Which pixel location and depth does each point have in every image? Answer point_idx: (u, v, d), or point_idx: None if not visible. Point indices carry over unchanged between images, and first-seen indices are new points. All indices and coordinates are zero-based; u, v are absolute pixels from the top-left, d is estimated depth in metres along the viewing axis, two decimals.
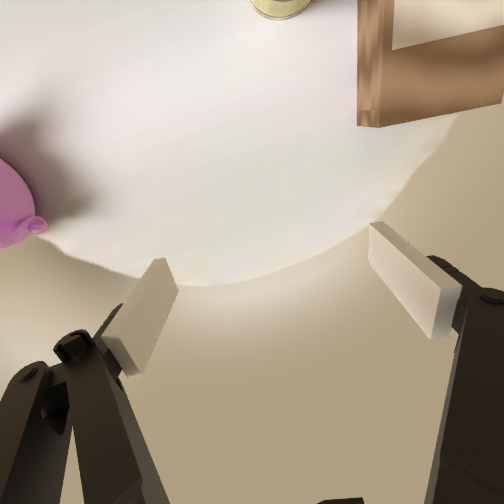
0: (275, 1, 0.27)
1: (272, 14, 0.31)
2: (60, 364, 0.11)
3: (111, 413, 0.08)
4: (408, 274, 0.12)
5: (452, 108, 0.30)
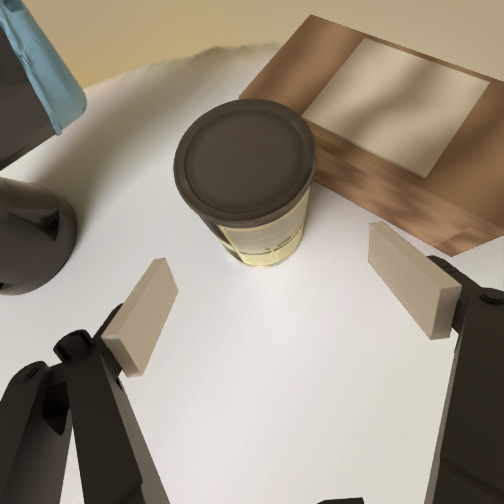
0: (284, 246, 0.24)
1: (284, 257, 0.28)
2: (60, 364, 0.11)
3: (111, 413, 0.08)
4: (408, 274, 0.12)
5: None
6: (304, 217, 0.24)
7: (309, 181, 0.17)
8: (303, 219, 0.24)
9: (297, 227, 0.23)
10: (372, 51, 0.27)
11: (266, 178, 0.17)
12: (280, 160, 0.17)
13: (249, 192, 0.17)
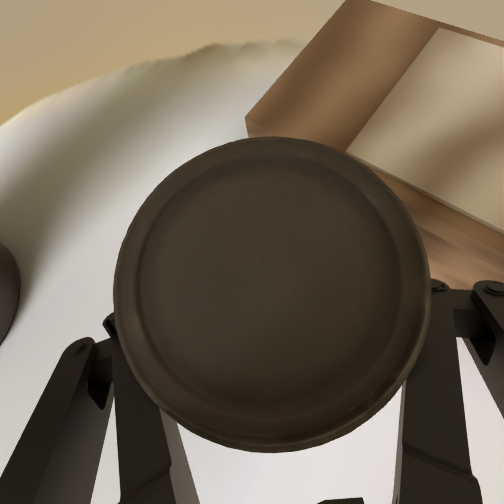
0: None
1: None
2: (104, 341, 0.11)
3: None
4: None
5: None
6: None
7: (419, 346, 0.07)
8: None
9: None
10: (454, 47, 0.17)
11: (313, 328, 0.08)
12: (343, 282, 0.08)
13: (276, 362, 0.07)
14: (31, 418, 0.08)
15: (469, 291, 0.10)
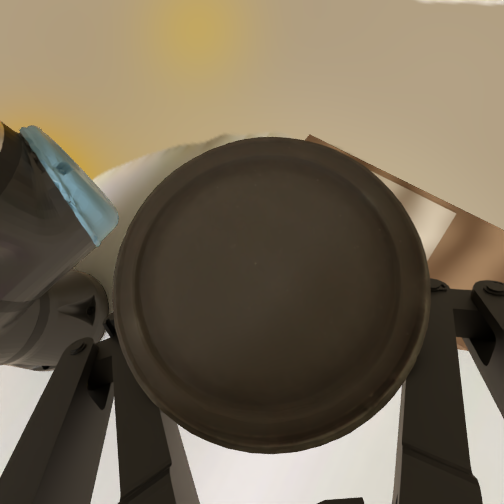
0: None
1: None
2: (104, 341, 0.11)
3: None
4: None
5: (501, 280, 0.27)
6: None
7: (419, 347, 0.07)
8: None
9: None
10: None
11: (312, 328, 0.08)
12: (342, 282, 0.08)
13: (275, 363, 0.07)
14: (31, 418, 0.08)
15: (469, 291, 0.10)
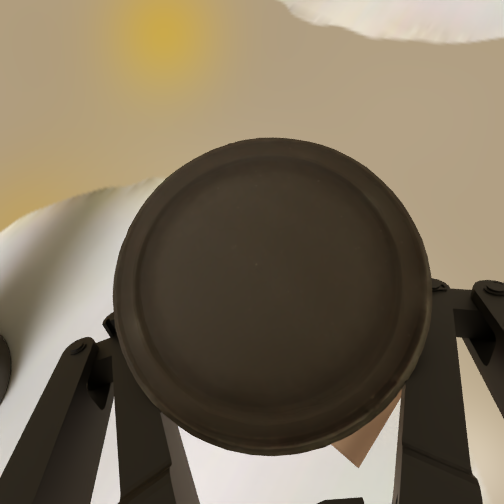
0: None
1: None
2: (104, 341, 0.11)
3: None
4: None
5: None
6: None
7: (420, 349, 0.07)
8: None
9: None
10: None
11: (313, 330, 0.08)
12: (343, 283, 0.08)
13: (277, 364, 0.07)
14: (31, 418, 0.08)
15: (469, 291, 0.10)
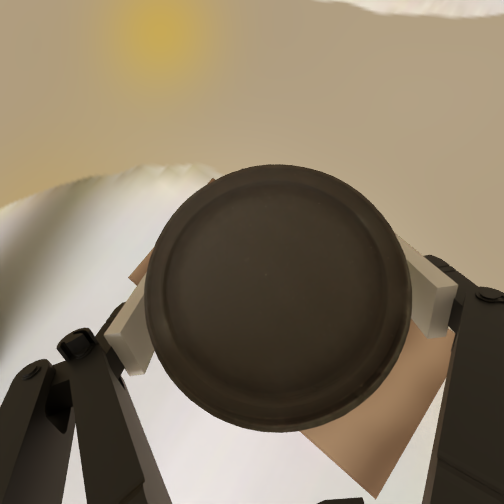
0: None
1: None
2: (63, 362, 0.11)
3: (114, 411, 0.08)
4: None
5: (427, 394, 0.20)
6: None
7: (401, 346, 0.09)
8: None
9: None
10: None
11: (313, 330, 0.09)
12: (339, 292, 0.09)
13: (283, 358, 0.09)
14: None
15: None
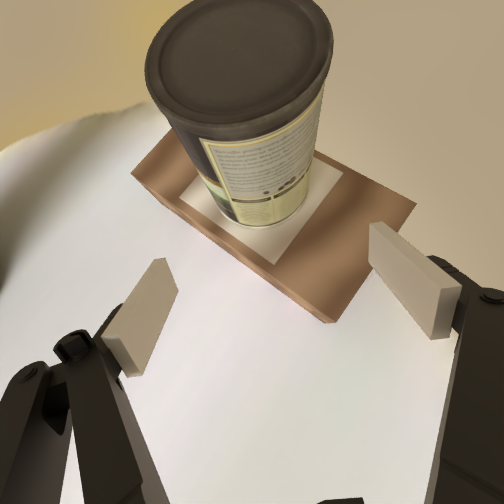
0: (286, 193, 0.20)
1: (286, 214, 0.24)
2: (60, 364, 0.11)
3: (112, 413, 0.08)
4: (408, 274, 0.12)
5: None
6: (312, 157, 0.20)
7: (323, 73, 0.12)
8: (310, 158, 0.19)
9: (303, 165, 0.18)
10: None
11: (264, 74, 0.13)
12: (283, 51, 0.13)
13: (242, 91, 0.13)
14: None
15: None
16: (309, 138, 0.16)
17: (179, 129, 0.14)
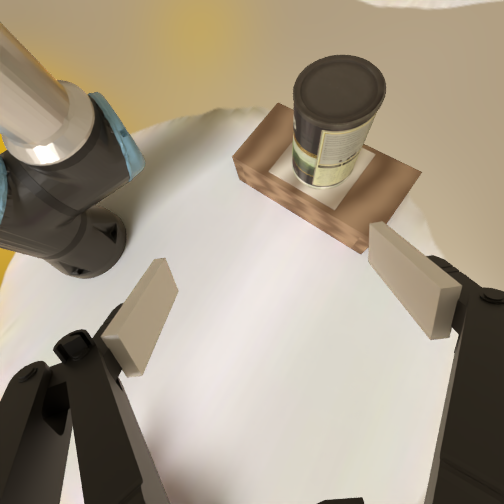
0: (349, 162, 0.35)
1: (342, 178, 0.39)
2: (60, 364, 0.11)
3: (112, 413, 0.08)
4: (408, 274, 0.12)
5: (401, 196, 0.39)
6: (363, 142, 0.35)
7: (382, 100, 0.28)
8: (363, 142, 0.35)
9: (361, 145, 0.34)
10: None
11: (354, 100, 0.28)
12: (362, 89, 0.29)
13: (345, 108, 0.28)
14: None
15: None
16: (368, 130, 0.32)
17: (310, 126, 0.29)
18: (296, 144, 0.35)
